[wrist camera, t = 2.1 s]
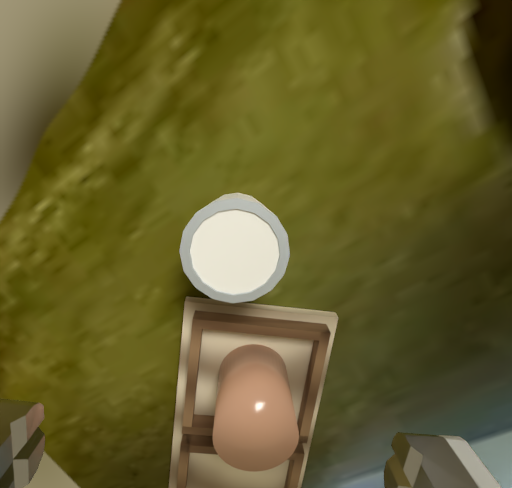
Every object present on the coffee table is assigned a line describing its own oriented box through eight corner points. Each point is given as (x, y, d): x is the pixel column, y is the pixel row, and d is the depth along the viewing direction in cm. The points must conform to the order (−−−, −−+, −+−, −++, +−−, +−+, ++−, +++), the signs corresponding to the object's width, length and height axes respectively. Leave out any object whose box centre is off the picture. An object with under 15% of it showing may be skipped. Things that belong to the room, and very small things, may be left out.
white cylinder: (212, 278, 30) (203, 318, 23) (180, 202, 28) (160, 220, 21) (289, 251, 29) (304, 284, 22) (262, 172, 27) (269, 181, 21)
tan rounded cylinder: (222, 340, 30) (217, 397, 23) (291, 347, 30) (305, 405, 24) (215, 399, 32) (208, 468, 25) (281, 404, 32) (291, 474, 25)
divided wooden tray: (186, 296, 30) (181, 309, 27) (335, 312, 31) (343, 326, 28) (167, 515, 37) (162, 541, 34) (289, 523, 37) (293, 549, 35)
